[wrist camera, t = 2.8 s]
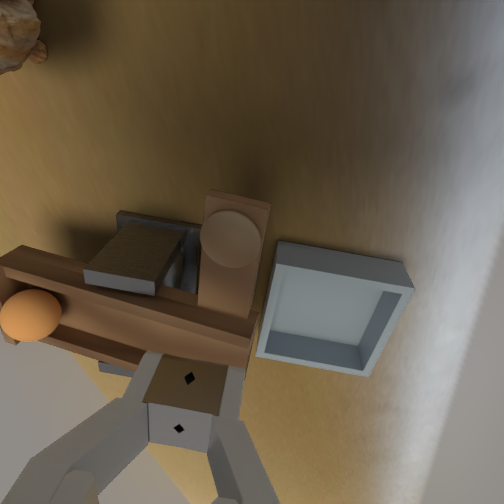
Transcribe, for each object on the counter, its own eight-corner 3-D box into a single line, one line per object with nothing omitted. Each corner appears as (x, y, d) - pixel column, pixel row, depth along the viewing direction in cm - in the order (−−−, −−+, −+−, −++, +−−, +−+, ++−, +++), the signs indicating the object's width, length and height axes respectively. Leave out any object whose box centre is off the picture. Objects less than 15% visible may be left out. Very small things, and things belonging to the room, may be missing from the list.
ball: (22, 274, 21) (-22, 306, 18) (68, 285, 21) (30, 320, 18) (33, 311, 23) (-7, 345, 20) (75, 321, 22) (42, 358, 20)
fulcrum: (119, 210, 24) (64, 262, 18) (201, 225, 24) (172, 282, 18) (127, 305, 29) (86, 370, 23) (195, 318, 29) (170, 386, 23)
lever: (-9, 136, 18) (-67, 149, 15) (282, 204, 16) (269, 233, 13) (40, 312, 25) (5, 341, 22) (245, 376, 22) (232, 416, 20)
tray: (278, 240, 24) (276, 263, 21) (402, 262, 24) (415, 288, 21) (258, 328, 28) (255, 356, 26) (361, 347, 28) (368, 377, 26)
